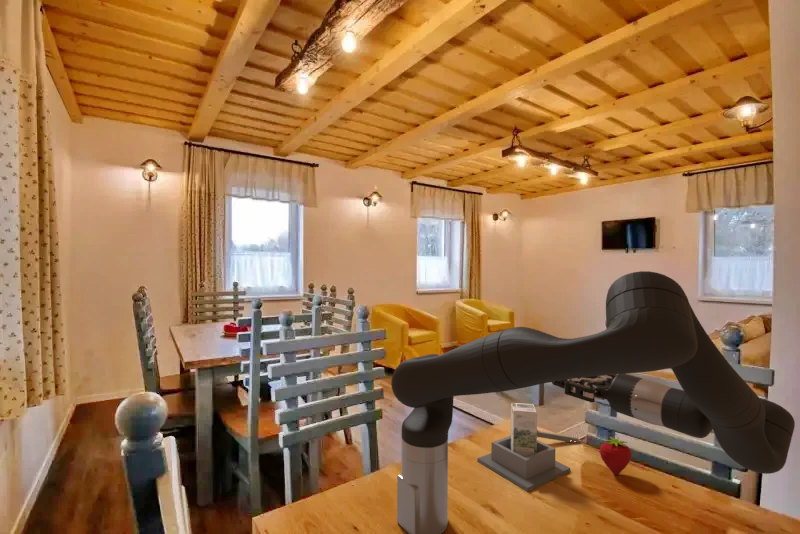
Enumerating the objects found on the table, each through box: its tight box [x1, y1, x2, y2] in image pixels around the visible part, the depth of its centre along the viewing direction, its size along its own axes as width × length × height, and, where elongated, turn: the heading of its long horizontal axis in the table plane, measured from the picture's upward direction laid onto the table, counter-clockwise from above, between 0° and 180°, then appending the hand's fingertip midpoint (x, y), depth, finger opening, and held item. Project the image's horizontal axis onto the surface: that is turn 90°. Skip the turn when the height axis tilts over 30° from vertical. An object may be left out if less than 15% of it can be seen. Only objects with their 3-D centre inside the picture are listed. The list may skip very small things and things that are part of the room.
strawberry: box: [599, 432, 632, 476], centre depth 98 cm, size 6×8×10 cm
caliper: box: [537, 429, 584, 444], centre depth 115 cm, size 20×1×6 cm, turn 93°
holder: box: [476, 435, 571, 492], centre depth 102 cm, size 16×16×5 cm
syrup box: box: [510, 402, 538, 458], centre depth 102 cm, size 6×6×14 cm
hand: (565, 375), depth 88 cm, fingers open, 8 cm apart
